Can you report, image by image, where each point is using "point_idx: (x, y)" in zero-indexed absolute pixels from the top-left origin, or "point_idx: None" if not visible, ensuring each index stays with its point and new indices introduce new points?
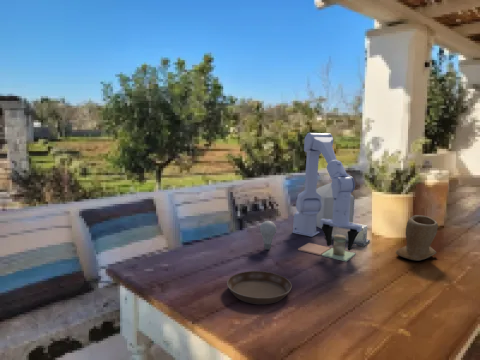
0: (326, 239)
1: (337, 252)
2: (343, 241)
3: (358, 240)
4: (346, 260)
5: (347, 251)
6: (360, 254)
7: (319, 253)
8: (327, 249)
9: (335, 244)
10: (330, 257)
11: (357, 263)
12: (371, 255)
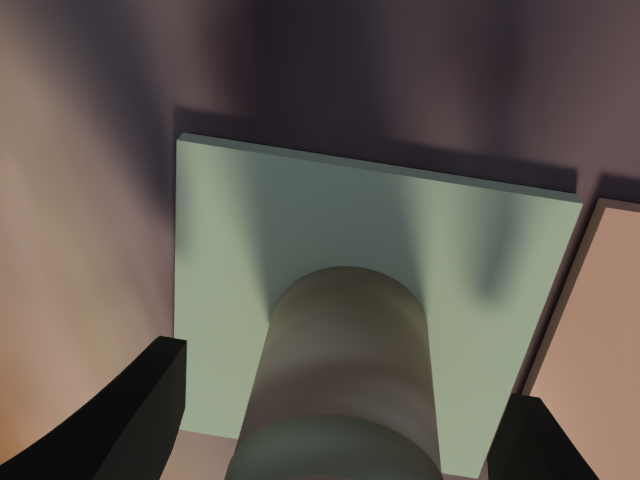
0: (591, 477)
1: (348, 291)
2: (238, 457)
3: None
4: (177, 140)
5: None
6: None
7: (626, 225)
8: None
9: (390, 387)
10: (433, 173)
11: (36, 144)
12: None
